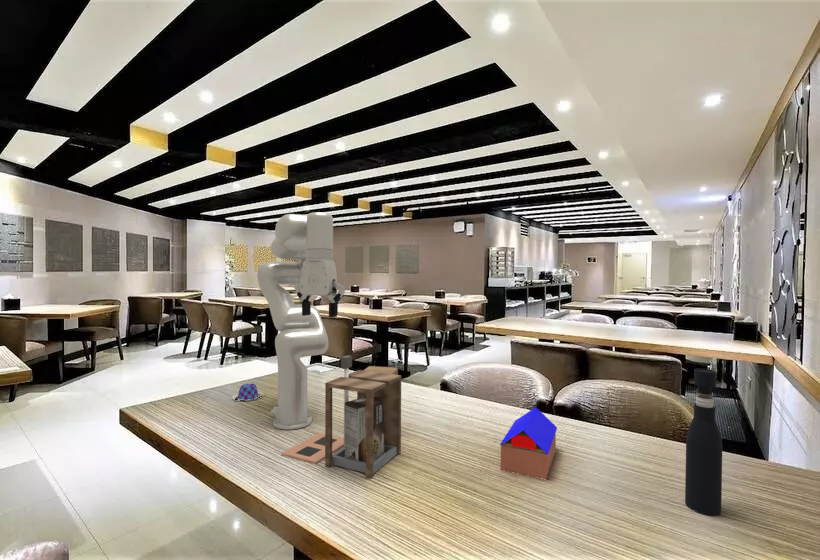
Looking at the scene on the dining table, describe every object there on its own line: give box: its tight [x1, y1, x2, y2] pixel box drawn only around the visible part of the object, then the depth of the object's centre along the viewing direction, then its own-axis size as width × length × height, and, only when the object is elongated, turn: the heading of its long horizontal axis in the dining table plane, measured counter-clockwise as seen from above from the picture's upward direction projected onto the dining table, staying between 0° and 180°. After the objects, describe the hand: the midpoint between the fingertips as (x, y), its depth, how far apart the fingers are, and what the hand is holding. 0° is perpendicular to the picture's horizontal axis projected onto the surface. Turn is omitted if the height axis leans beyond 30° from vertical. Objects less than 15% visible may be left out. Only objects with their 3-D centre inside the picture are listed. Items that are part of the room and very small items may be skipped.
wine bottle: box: [684, 368, 723, 517], centre depth 88 cm, size 6×6×30 cm
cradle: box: [332, 355, 398, 475], centre depth 110 cm, size 13×13×27 cm
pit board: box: [280, 432, 344, 465], centre depth 117 cm, size 12×16×1 cm
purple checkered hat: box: [231, 383, 265, 402], centre depth 165 cm, size 12×12×5 cm
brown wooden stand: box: [324, 369, 402, 480], centre depth 110 cm, size 14×16×22 cm
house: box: [499, 406, 558, 480], centre depth 111 cm, size 12×20×12 cm, turn 154°
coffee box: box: [344, 397, 385, 463], centre depth 110 cm, size 9×6×16 cm
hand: (319, 315), depth 117 cm, fingers open, 9 cm apart
